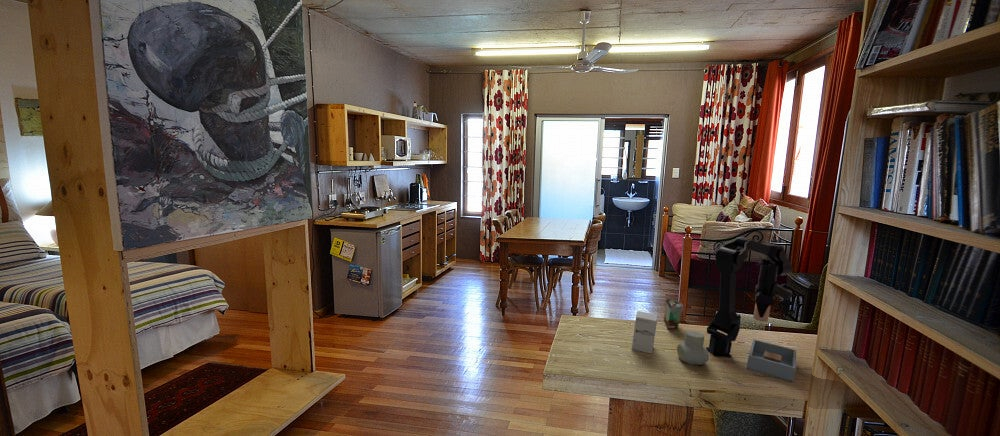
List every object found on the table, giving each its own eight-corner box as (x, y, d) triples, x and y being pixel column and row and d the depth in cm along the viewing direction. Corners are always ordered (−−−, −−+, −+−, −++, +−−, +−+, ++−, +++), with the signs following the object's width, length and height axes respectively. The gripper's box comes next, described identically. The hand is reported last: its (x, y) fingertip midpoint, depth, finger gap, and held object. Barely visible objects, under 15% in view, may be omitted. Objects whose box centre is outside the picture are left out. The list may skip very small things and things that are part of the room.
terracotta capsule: (759, 321, 171) (762, 304, 170) (750, 316, 176) (753, 299, 175) (770, 321, 172) (774, 304, 171) (761, 316, 177) (764, 299, 176)
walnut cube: (779, 368, 155) (781, 355, 154) (778, 374, 150) (781, 360, 150) (762, 364, 157) (764, 350, 157) (761, 369, 153) (763, 355, 152)
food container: (683, 333, 182) (687, 309, 180) (667, 330, 183) (671, 307, 181) (678, 321, 194) (681, 299, 192) (663, 319, 195) (666, 297, 193)
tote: (793, 382, 147) (795, 368, 146) (746, 369, 154) (748, 355, 153) (793, 363, 161) (796, 350, 161) (751, 351, 169) (753, 338, 168)
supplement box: (631, 349, 163) (635, 316, 161) (633, 342, 170) (637, 310, 168) (652, 354, 160) (656, 320, 158) (653, 346, 167) (658, 314, 165)
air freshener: (673, 353, 163) (677, 326, 161) (697, 354, 163) (700, 328, 161) (685, 367, 152) (689, 339, 150) (709, 369, 152) (714, 341, 150)
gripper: (794, 286, 160) (786, 328, 162) (791, 275, 176) (784, 313, 178) (758, 280, 165) (751, 320, 167) (758, 269, 181) (752, 306, 184)
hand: (761, 315), depth 174 cm, fingers closed on terracotta capsule, 5 cm apart
